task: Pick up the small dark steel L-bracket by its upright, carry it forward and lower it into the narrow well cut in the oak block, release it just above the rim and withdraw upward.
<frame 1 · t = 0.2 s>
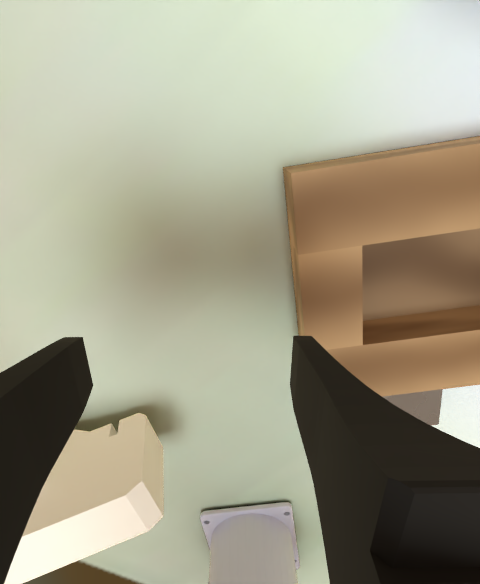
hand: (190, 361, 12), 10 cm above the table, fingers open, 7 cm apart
oak well block: (424, 266, 21), on the table
shelf bracket: (14, 449, 28), on the table
steel bracket: (345, 402, 26), on the table
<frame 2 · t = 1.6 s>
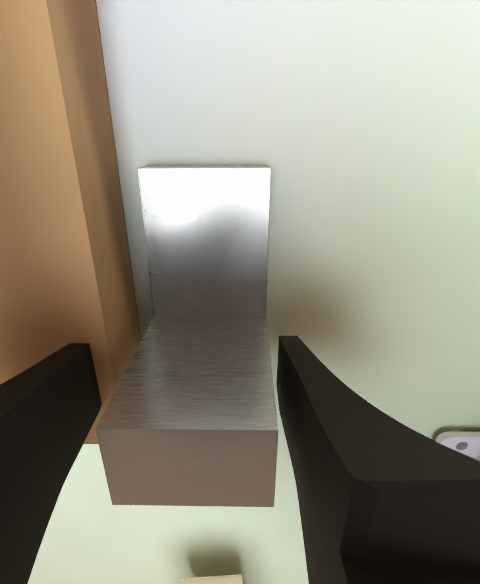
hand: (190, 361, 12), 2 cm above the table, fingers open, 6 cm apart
steel bracket: (213, 329, 14), on the table
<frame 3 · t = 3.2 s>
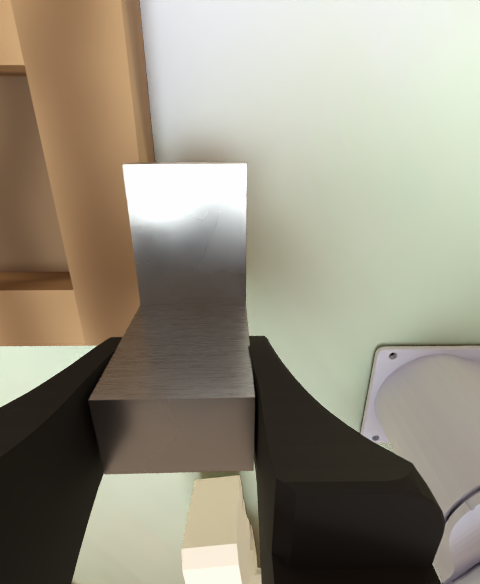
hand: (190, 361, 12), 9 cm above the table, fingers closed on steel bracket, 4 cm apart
oak well block: (22, 183, 18), on the table
shelf bracket: (239, 553, 32), on the table
steel bracket: (197, 318, 15), point 6 cm above the table, touching gripper
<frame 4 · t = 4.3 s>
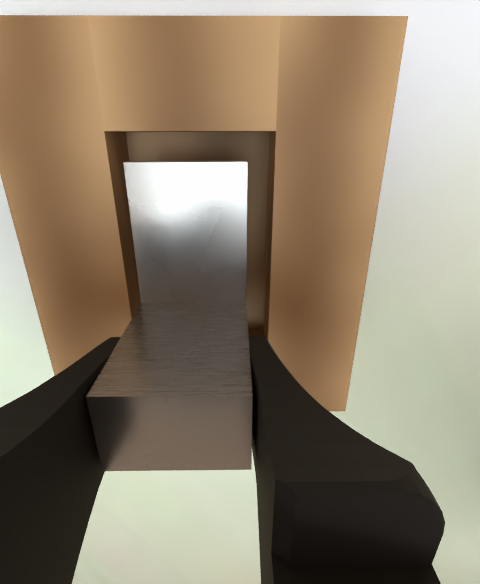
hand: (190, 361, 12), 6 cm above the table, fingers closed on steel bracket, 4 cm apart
oak well block: (203, 240, 17), on the table
steel bracket: (198, 316, 15), point 3 cm above the table, touching gripper
when the fingers open (4 cm above the table, at t = 5.2 s): steel bracket stays where it is, resting on oak well block.
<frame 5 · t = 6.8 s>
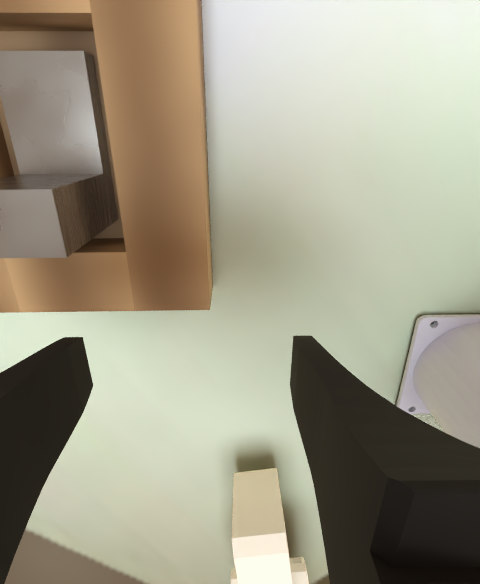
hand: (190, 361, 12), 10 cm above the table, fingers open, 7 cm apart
oak well block: (70, 146, 18), on the table
shelf bracket: (270, 545, 33), on the table
steel bracket: (76, 196, 18), resting on oak well block
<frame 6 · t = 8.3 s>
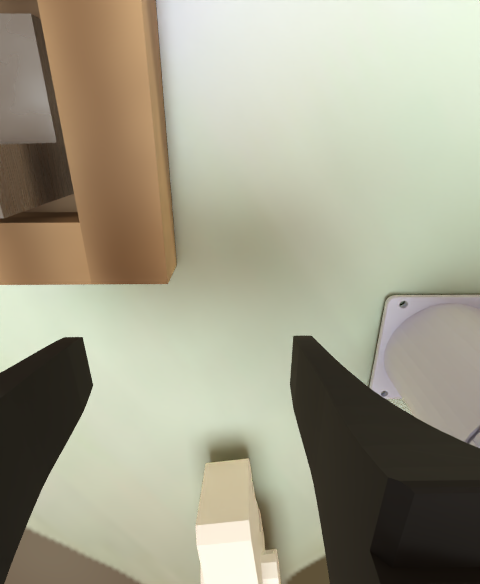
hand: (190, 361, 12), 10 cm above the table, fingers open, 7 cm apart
oak well block: (26, 116, 18), on the table
shelf bracket: (247, 538, 33), on the table
steel bracket: (34, 168, 18), resting on oak well block
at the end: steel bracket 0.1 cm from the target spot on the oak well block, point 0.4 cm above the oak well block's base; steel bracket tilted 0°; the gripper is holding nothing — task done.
